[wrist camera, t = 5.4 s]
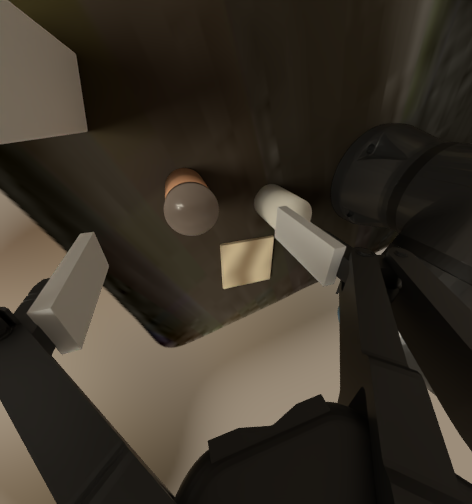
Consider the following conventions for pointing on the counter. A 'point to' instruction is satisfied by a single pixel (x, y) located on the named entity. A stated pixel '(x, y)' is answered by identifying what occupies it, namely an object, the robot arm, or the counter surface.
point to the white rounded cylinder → (279, 203)
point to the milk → (36, 81)
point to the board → (246, 261)
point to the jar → (189, 203)
